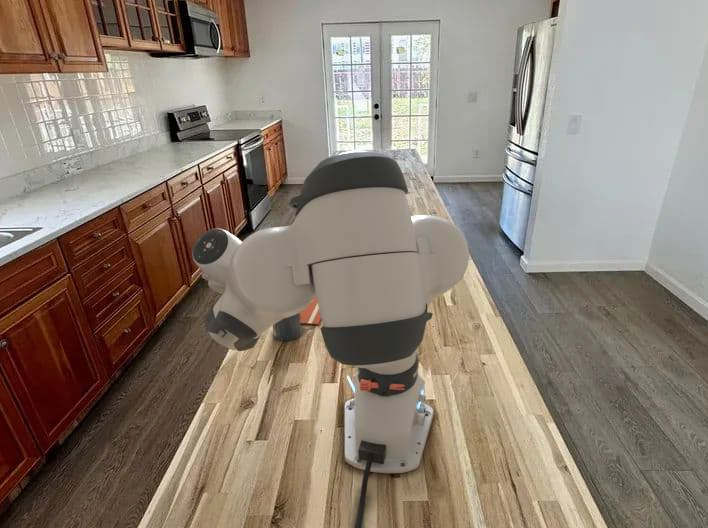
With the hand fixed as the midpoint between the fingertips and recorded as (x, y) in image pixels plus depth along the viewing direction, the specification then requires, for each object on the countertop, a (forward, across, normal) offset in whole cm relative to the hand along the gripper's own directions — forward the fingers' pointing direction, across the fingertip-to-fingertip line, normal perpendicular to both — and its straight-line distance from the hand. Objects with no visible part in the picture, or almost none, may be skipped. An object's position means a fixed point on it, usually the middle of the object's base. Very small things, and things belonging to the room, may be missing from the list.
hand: (268, 294), depth 102 cm
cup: (+20, -1, -5) cm, 21 cm away
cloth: (+30, 0, +5) cm, 31 cm away
